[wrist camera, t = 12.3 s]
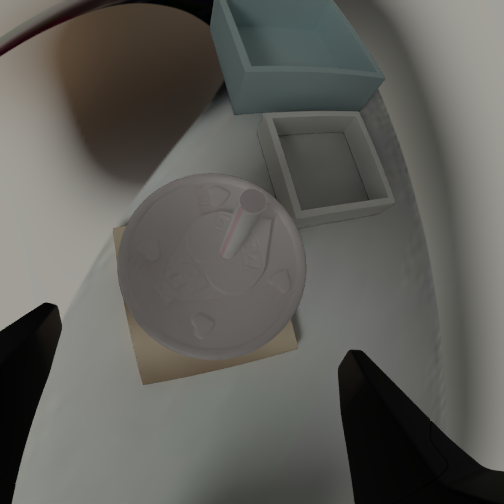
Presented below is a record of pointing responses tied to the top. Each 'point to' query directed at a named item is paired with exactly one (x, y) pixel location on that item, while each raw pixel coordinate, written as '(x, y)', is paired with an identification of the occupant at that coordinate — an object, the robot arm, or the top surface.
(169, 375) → the oak board
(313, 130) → the grey tray
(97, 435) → the top surface
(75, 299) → the top surface
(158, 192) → the smoothie
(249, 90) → the bin
